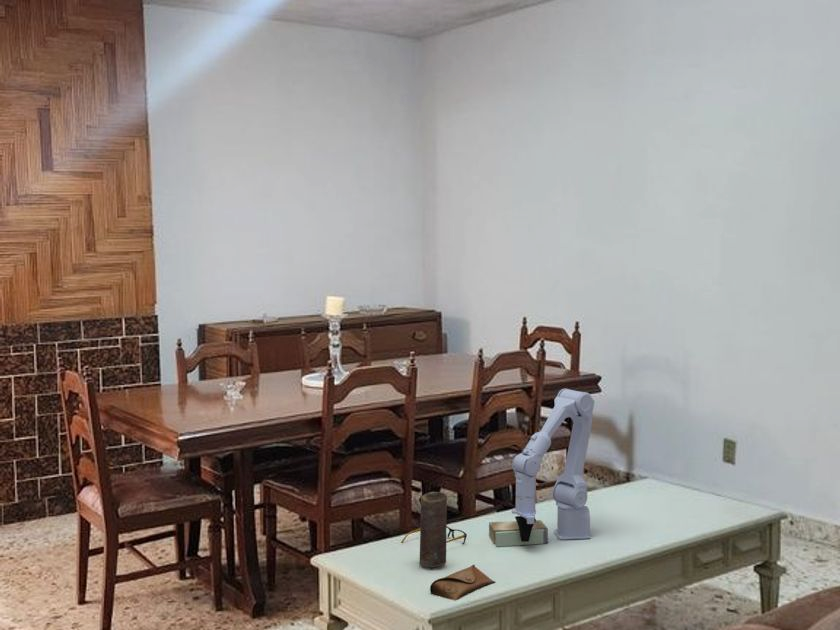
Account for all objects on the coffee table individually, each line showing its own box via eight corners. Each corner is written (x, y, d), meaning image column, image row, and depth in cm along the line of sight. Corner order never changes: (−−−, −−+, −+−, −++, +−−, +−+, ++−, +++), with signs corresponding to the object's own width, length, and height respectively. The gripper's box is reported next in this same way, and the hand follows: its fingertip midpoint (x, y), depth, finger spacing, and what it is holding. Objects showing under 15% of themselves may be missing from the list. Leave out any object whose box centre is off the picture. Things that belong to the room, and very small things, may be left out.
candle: (452, 566, 270) (452, 494, 268) (433, 572, 265) (433, 500, 263) (432, 559, 276) (432, 489, 274) (414, 565, 271) (413, 494, 269)
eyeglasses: (469, 546, 289) (469, 532, 288) (432, 557, 279) (432, 543, 279) (436, 534, 299) (436, 521, 299) (400, 545, 290) (400, 531, 290)
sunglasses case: (455, 601, 244) (445, 575, 246) (436, 609, 249) (426, 584, 250) (497, 581, 258) (487, 557, 260) (479, 589, 262) (469, 565, 264)
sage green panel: (547, 542, 289) (547, 528, 289) (548, 543, 288) (548, 529, 288) (495, 545, 287) (495, 532, 286) (496, 546, 286) (496, 533, 285)
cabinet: (541, 533, 298) (541, 520, 298) (547, 542, 290) (547, 528, 290) (489, 535, 296) (489, 522, 296) (494, 544, 288) (494, 530, 288)
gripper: (507, 489, 292) (506, 534, 293) (517, 502, 277) (516, 549, 278) (530, 488, 292) (529, 533, 294) (541, 501, 278) (541, 548, 279)
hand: (525, 541), depth 286 cm, fingers closed
